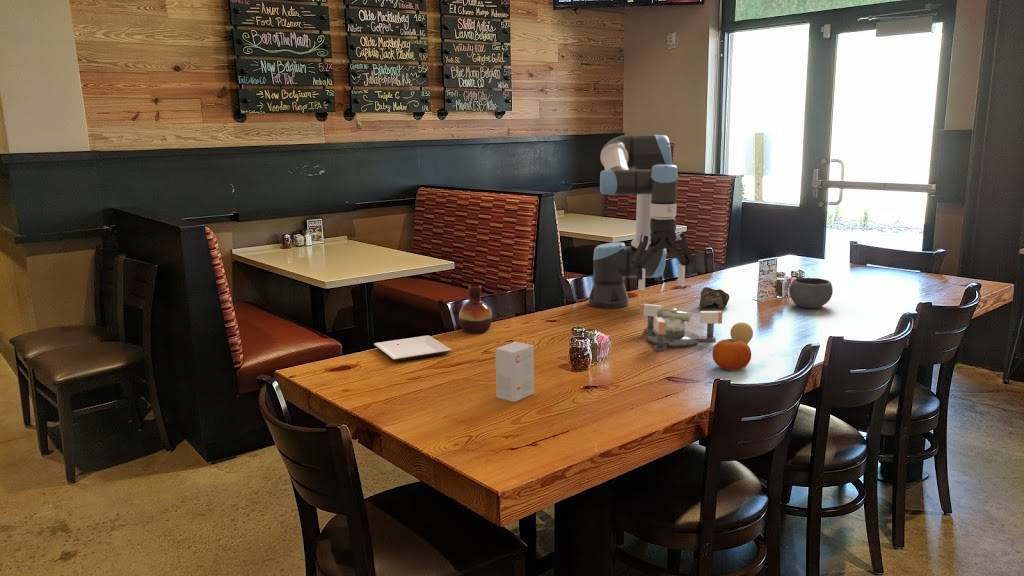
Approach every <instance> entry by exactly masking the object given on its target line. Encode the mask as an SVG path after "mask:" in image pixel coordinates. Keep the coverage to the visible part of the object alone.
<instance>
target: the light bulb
mask: <svg viewBox="0 0 1024 576" xmlns="http://www.w3.org/2000/svg"><path fill="white" fill-rule="evenodd" d="M753 336H754V330H753V328H752V326H751V325H750V324H749V323H746V322H737V323H735V324H733V326H731V329H730V337H731V338H730V339H737V340H740V341H743V342H745V343H746V344H747V345H748V344H749V343H750V341H751V340H752V339H753Z"/></svg>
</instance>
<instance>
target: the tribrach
mask: <svg viewBox="0 0 1024 576" xmlns="http://www.w3.org/2000/svg"><path fill="white" fill-rule="evenodd" d="M659 317H662V318H663V320H664V321H665V322H666V334H664V336H663V346H657V331H656V329H655V328H654V329H647V328H644V329H643V332H644V333H645V334H647V342H648V343H650V344H652V345H654V346H653V349H652V350H653V351H658V352H665V350H667V349H668V348H675V349H676V348H677V349H679V348H690V347H694V346H697V345H698V344H699V343H700V342H702V343H703V342H706V343H707V342H710V343H712V342H716V343H717V341H716V340H717V339H716V338H717V337H715V336H714V335H713V337H707V335H698V334H697V333H696V332H692V331H690V330H689V331H688V330H686V329H685V328H686V323H687V322H690V321H691V317H692V314H691V312H686V311H678V308H676V307H675V308H670V310H669V309H662V308H661V309H659V310H658V312H657V317H656V318H659Z"/></svg>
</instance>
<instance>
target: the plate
mask: <svg viewBox="0 0 1024 576" xmlns="http://www.w3.org/2000/svg"><path fill="white" fill-rule="evenodd" d="M397 344H399V345H397ZM373 345H374V346H375V347H376V348H377V349H379V350H380V351H382V352H383V353H384V354H385V355H386V356H388V357H389V358H390V359H392V360H393V361H398V362H400V361H407V360H412V359H419V358H426V357H431V356H437V355H443V354H446V353H449V352H452V351H453V349H451V347H449V346H447V345H445V344H443V343H442V342H441V341H439V340H437V339H435V338H434V337H432V336H431V335H429V334H428V335H421V336H414V337H409V338H408V337H407V338H401V339H393V340H387V341H381V342H375V343H373Z"/></svg>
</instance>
